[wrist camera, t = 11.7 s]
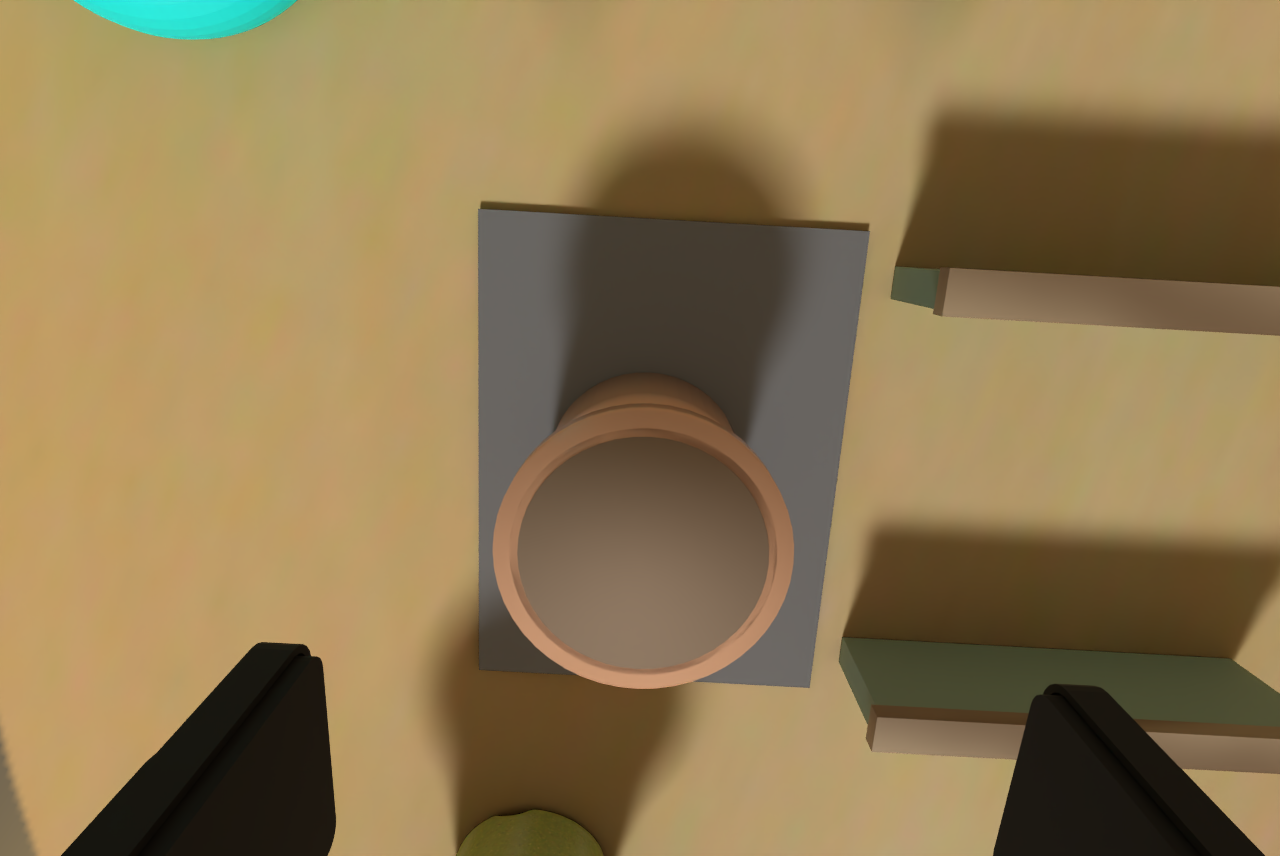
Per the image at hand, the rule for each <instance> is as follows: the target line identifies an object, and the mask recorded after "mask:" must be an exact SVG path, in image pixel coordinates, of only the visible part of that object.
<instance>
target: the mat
mask: <svg viewBox="0 0 1280 856" xmlns="http://www.w3.org/2000/svg"><path fill="white" fill-rule="evenodd" d="M869 234H870V231H854V230H836V229H819V228H802V227H785V226H767V225H750V224H733V223H715V222H698V221H681V220H663V219H646V218H629V217H611V216H594V215H577V214H559V213H542V212H525V211H507V210H490V209H478V311H479V670H492V671H511V672H529V673H547V674H566V675H577V674H575V673H573V672H571V671H569V670H567V669H565V668H564V667H562V666H560V665H559V664H557V663H556V662H554V661H553V660H551V659H550V658H548V657H547V656H546V655H545V654H544V653H542V652H541V651H540V650H539V649H538V648H536V647H535V646H534V645H533V643H532V642H531V641H530V640H529V639H528V638H527V637H526V636H525V635H524V634H523V633H522V631H521V630H520V628H519V627H518V626H517V624H516V623H515V621H514V620H513V619H512V617H511V615H510V613H509V611H508V609H507V607H506V605H505V604H504V601H503V599H502V596H501V593H500V590H499V588H498V584H497V580H496V575H495V571H494V563H493V536H494V528H495V524H496V519H497V514H498V511H499V509H500V506H501V503H502V500H503V498H504V496H505V494H506V492H507V490H508V488H509V486H510V484H511V482H512V481H513V479H514V477H515V475H516V473H517V472H518V470H519V468H520V467H521V466H522V464H523V463H524V461H525V460H526V459H527V457H528V456H529V455H530V454H531V452H532V451H533V450H534V449H535V448H536V447H537V446H538V445H539V444H540V443H541V442H542V441H543V440H544V439H546V438H547V437H548V436H550V435H551V434H552V433H553V432H554V431H555V429H556V427H557V425H558V424H559V422H560V420H561V418H562V416H563V415H564V413H565V412H566V411H567V409H568V408H569V407H570V406H571V405H572V403H573V402H574V401H575V400H576V399H577V398H578V397H580V396H581V395H582V394H583V393H585V392H586V391H587V390H588V389H590V388H592V387H593V386H595V385H597V384H598V383H601V382H603V381H605V380H607V379H610V378H613V377H616V376H620V375H623V374H630V373H643V372H650V373H659V374H665V375H669V376H673V377H676V378H679V379H681V380H684V381H686V382H688V383H690V384H692V385H694V386H695V387H697V388H699V389H700V390H701V391H703V392H704V393H706V394H707V395H708V396H709V397H710V398H711V399H712V400H713V401H714V402H715V403H716V404H717V405H718V406H719V407H720V408H721V410H722V411H723V412H724V413H725V415H726V417H727V418H728V420H729V422H730V424H731V425H732V428H733V430H734V432H735V434H736V435H737V436H738V437H740V438H741V439H742V440H743V441H744V442H745V443H746V444H747V445H748V446H749V447H750V448H751V449H752V450H753V451H754V452H755V453H756V454H757V456H758V457H759V458H760V459H761V461H762V462H763V463H764V464H765V466H766V467H767V469H768V471H769V473H770V474H771V476H772V478H773V479H774V481H775V483H776V485H777V487H778V489H779V491H780V492H781V495H782V497H783V500H784V502H785V505H786V507H787V510H788V513H789V517H790V521H791V525H792V530H793V540H794V564H793V570H792V575H791V581H790V585H789V588H788V591H787V594H786V597H785V600H784V602H783V604H782V606H781V608H780V610H779V612H778V614H777V616H776V617H775V619H774V620H773V622H772V623H771V625H770V626H769V628H768V629H767V631H766V632H765V633H764V634H763V635H762V636H761V638H760V639H759V640H758V641H757V642H756V643H755V644H754V645H753V646H752V647H751V648H750V649H749V650H748V651H746V652H745V653H744V654H743V655H742V656H741V657H739V658H738V659H736V660H735V661H733V662H732V663H730V664H729V665H727V666H726V667H724V668H722V669H720V670H718V671H716V672H714V673H713V674H711V675H709V676H706V677H703V678H700V679H698V680H695V681H694V682H712V683H730V684H748V685H767V686H785V687H803V688H809V687H810V680H811V672H812V664H813V657H814V649H815V642H816V634H817V627H818V619H819V612H820V604H821V596H822V589H823V581H824V574H825V566H826V559H827V551H828V544H829V536H830V528H831V521H832V513H833V506H834V498H835V491H836V483H837V476H838V468H839V460H840V453H841V445H842V438H843V430H844V423H845V415H846V408H847V400H848V392H849V385H850V377H851V370H852V362H853V355H854V347H855V340H856V332H857V324H858V317H859V309H860V302H861V294H862V287H863V279H864V272H865V264H866V256H867V249H868V241H869Z"/></svg>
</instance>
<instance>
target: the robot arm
mask: <svg viewBox="0 0 1280 856" xmlns="http://www.w3.org/2000/svg"><path fill="white" fill-rule="evenodd" d="M335 827H336V813H335V802H334V790H333V778H332V766H331V755H330V743H329V731H328V720H327V708H326V696H325V684H324V673H323V665H322V661H321V659H320V658H319V657H313V656H311V655H310V651H309V649H308V647H307V646H305V645H303V644H286V643H267V642H261V643H257V644H256V645H255V646H254V647H252V648H251V649H250V650H249V652H248V653H247V654H246V655H245V656H244V657H243V658H242V659H241V660H240V661H239V663H238V664H237V665H236V666H235V667H234V668H233V669H232V670H231V671H230V673H229V674H228V675H227V676H226V677H225V678H224V679H223V680H222V681H221V682H220V684H219V685H218V686H217V687H216V688H215V689H214V690H213V691H212V692H211V694H210V695H209V696H208V697H207V698H206V699H205V700H204V701H203V702H202V703H201V705H200V706H199V707H198V708H197V709H196V710H195V711H194V712H193V713H192V714H191V716H190V717H189V718H188V719H187V720H186V721H185V722H184V723H183V724H182V726H181V727H180V728H179V729H178V730H177V731H176V732H175V733H174V734H173V735H172V737H171V738H170V739H169V740H168V741H167V742H166V743H165V744H164V745H163V747H162V748H161V749H160V750H159V751H158V752H157V753H156V754H155V755H154V756H152V757H151V758H150V759H149V760H148V761H147V762H146V763H145V764H144V765H143V766H142V767H141V768H140V769H139V770H138V771H137V773H136V774H135V775H134V776H133V777H132V778H131V779H130V780H129V781H128V782H127V784H126V785H125V786H124V787H123V788H122V789H121V790H120V791H119V792H118V793H117V795H116V796H115V797H114V798H113V799H112V800H111V801H110V802H109V803H108V804H107V806H106V807H105V808H104V809H103V810H102V811H101V812H100V813H99V814H98V815H97V817H96V818H95V819H94V820H93V821H92V822H91V823H90V824H89V825H88V826H87V828H86V829H85V830H84V831H83V832H82V833H81V834H80V835H79V836H78V837H77V839H76V840H75V841H74V842H73V843H72V844H71V845H70V846H69V847H68V848H67V849H66V851H65V852H64V853H63V854H62V855H61V856H327V855H328V853H329V851H330V848H331V846H332V842H333V839H334V834H335ZM993 856H1265V855H1264V854H1263V853H1262V852H1261V851H1260V850H1259V849H1258V848H1257V847H1256V846H1255V845H1254V844H1253V843H1252V842H1251V841H1250V840H1249V839H1248V838H1247V836H1246V835H1245V834H1244V833H1243V832H1242V831H1241V830H1240V829H1239V828H1238V827H1237V826H1236V825H1235V824H1234V823H1233V822H1232V821H1231V820H1230V819H1229V818H1228V817H1227V816H1226V815H1225V814H1224V813H1223V812H1222V811H1221V810H1220V808H1219V807H1218V806H1217V805H1216V804H1215V803H1214V802H1213V801H1212V800H1211V799H1210V798H1209V797H1208V796H1207V795H1206V794H1205V793H1204V792H1203V791H1202V790H1201V789H1200V788H1199V787H1198V786H1197V785H1196V784H1195V783H1194V782H1193V780H1192V779H1191V778H1190V777H1189V776H1188V775H1187V774H1186V773H1185V772H1184V771H1183V770H1182V769H1181V768H1180V767H1179V766H1178V765H1177V764H1176V763H1175V762H1174V761H1173V760H1172V759H1171V758H1170V757H1169V756H1168V755H1167V753H1166V752H1165V751H1164V750H1163V749H1162V748H1161V747H1160V746H1159V745H1158V744H1157V743H1156V742H1155V741H1154V740H1153V739H1152V738H1151V737H1150V736H1149V735H1148V734H1147V733H1146V732H1145V731H1144V730H1143V729H1142V728H1141V727H1140V725H1139V724H1138V723H1137V722H1136V721H1135V720H1134V719H1133V718H1132V717H1131V716H1130V715H1129V714H1128V713H1127V712H1126V711H1125V710H1124V709H1123V708H1122V707H1121V706H1120V705H1119V704H1118V703H1117V702H1116V701H1115V700H1114V699H1113V697H1112V696H1111V695H1110V694H1109V693H1108V692H1106V691H1105V690H1104V689H1102V688H1101V687H1097V686H1091V685H1072V684H1051V685H1049V686H1048V687H1047V688H1046V689H1045V690H1044V693H1043V695H1042V694H1040V695H1036V696H1035V697H1034V698H1033V700H1032V703H1031V706H1030V710H1029V714H1028V718H1027V722H1026V726H1025V730H1024V733H1023V737H1022V741H1021V745H1020V749H1019V753H1018V757H1017V761H1016V765H1015V769H1014V773H1013V777H1012V781H1011V785H1010V789H1009V793H1008V797H1007V801H1006V805H1005V808H1004V812H1003V816H1002V820H1001V824H1000V828H999V832H998V836H997V840H996V844H995V848H994V853H993Z"/></svg>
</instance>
